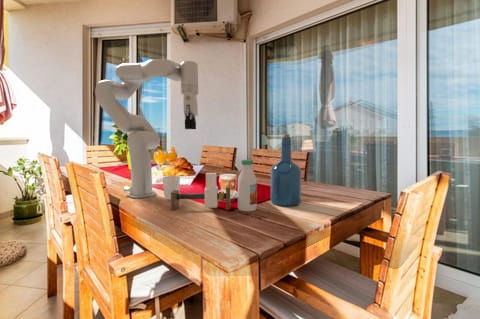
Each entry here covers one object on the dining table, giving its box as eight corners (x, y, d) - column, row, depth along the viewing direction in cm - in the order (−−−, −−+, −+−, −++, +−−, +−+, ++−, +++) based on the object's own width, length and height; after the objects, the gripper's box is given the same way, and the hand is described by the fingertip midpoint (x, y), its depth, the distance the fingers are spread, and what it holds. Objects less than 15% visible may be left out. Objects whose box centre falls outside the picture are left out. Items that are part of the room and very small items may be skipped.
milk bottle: (243, 213, 103) (243, 161, 101) (234, 208, 110) (234, 159, 108) (260, 210, 107) (260, 160, 105) (250, 205, 114) (250, 158, 112)
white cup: (176, 200, 123) (175, 178, 121) (160, 199, 124) (159, 178, 123) (183, 196, 130) (182, 176, 129) (168, 195, 132) (167, 175, 131)
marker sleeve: (204, 207, 108) (204, 174, 106) (206, 203, 113) (205, 172, 112) (217, 207, 108) (216, 174, 106) (218, 203, 113) (217, 172, 112)
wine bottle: (273, 198, 126) (274, 133, 123) (302, 200, 122) (304, 133, 119) (266, 205, 113) (267, 134, 110) (298, 208, 109) (300, 134, 106)
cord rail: (171, 210, 108) (170, 188, 107) (174, 206, 113) (173, 185, 112) (229, 209, 108) (229, 187, 107) (230, 206, 113) (230, 185, 112)
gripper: (195, 87, 111) (196, 129, 113) (200, 93, 129) (201, 129, 130) (177, 87, 111) (178, 129, 113) (185, 93, 128) (186, 129, 130)
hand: (190, 129), depth 122 cm, fingers open, 9 cm apart
